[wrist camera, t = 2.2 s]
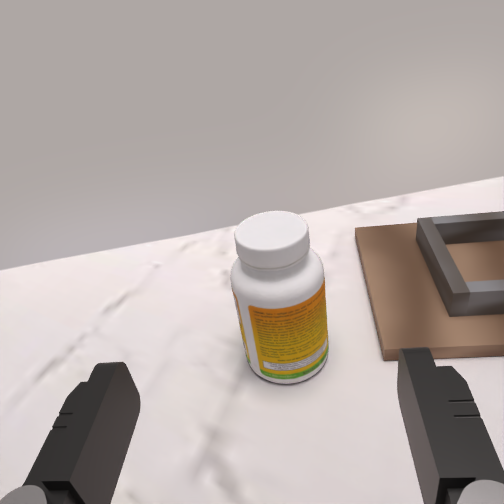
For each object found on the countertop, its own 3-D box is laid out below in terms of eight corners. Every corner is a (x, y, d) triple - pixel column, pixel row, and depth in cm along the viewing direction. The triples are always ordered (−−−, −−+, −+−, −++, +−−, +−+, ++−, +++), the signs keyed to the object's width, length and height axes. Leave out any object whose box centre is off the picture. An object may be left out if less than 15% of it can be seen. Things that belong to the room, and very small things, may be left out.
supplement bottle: (346, 351, 28) (343, 223, 23) (285, 402, 26) (265, 272, 20) (289, 313, 32) (274, 194, 26) (231, 354, 29) (201, 232, 24)
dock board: (383, 360, 27) (385, 326, 25) (355, 237, 38) (354, 207, 37) (710, 347, 25) (736, 308, 23) (576, 220, 36) (587, 187, 34)
